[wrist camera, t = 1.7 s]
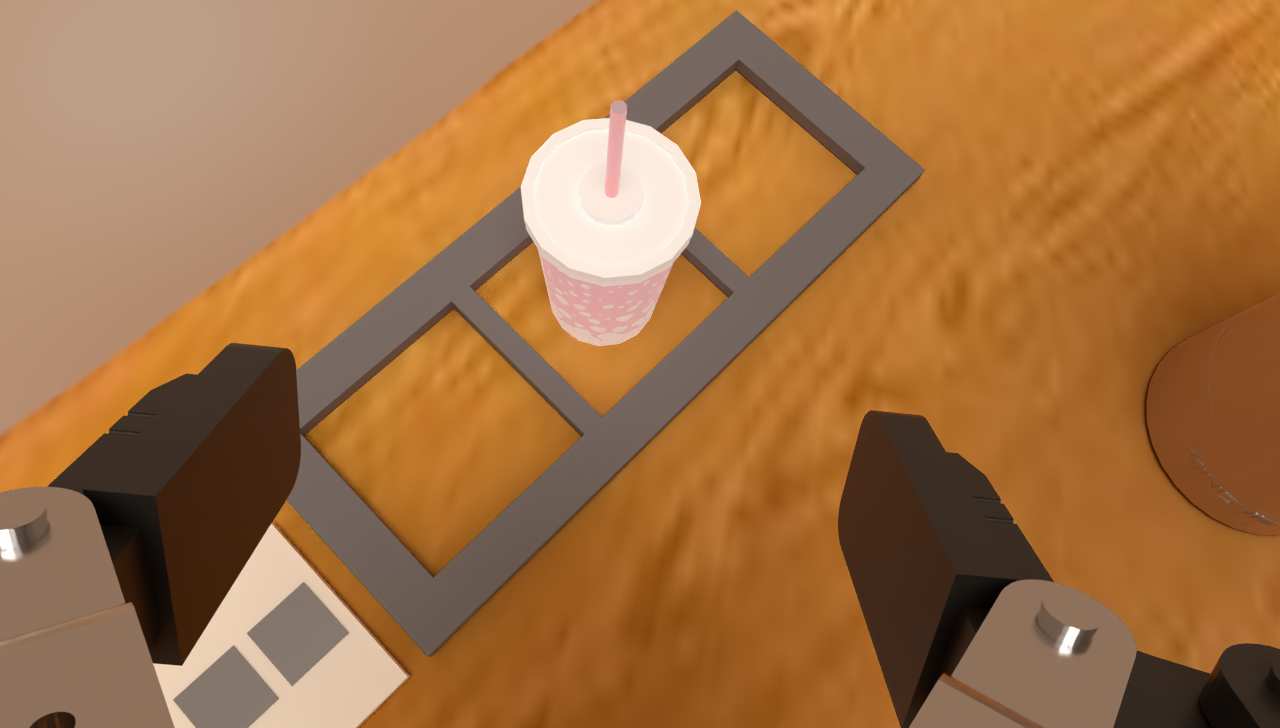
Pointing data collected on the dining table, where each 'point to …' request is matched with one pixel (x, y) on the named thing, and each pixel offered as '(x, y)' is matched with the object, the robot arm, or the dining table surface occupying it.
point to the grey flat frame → (606, 441)
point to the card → (281, 653)
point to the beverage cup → (608, 222)
